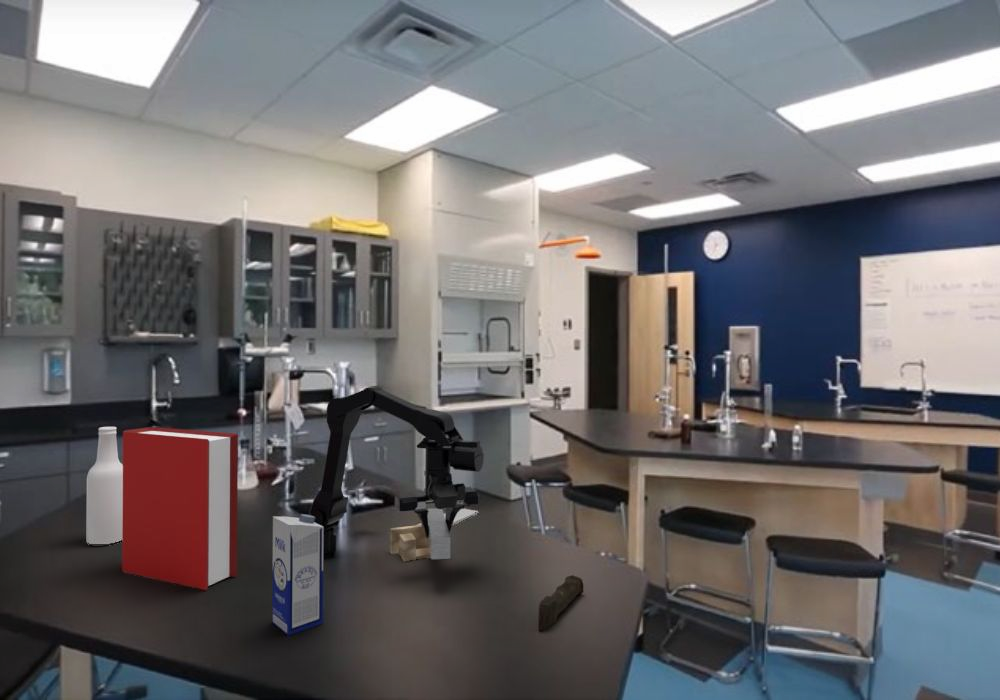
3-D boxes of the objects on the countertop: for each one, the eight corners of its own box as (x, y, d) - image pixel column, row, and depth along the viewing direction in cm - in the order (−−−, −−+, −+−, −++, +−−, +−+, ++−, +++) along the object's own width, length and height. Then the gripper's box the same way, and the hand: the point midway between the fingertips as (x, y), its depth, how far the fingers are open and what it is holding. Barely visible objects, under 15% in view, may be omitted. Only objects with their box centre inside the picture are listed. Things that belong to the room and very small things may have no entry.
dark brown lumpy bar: (566, 591, 122) (566, 569, 122) (584, 595, 120) (584, 573, 120) (525, 629, 105) (525, 604, 105) (545, 635, 103) (545, 609, 103)
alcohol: (134, 536, 154) (135, 425, 154) (109, 548, 145) (110, 430, 145) (104, 535, 155) (105, 424, 155) (77, 546, 146) (78, 429, 146)
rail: (431, 559, 120) (431, 538, 120) (425, 526, 142) (425, 508, 142) (450, 558, 121) (450, 537, 121) (441, 526, 142) (442, 508, 142)
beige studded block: (396, 562, 137) (396, 537, 137) (390, 552, 144) (390, 528, 144) (456, 554, 142) (456, 530, 142) (447, 544, 149) (447, 521, 149)
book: (236, 577, 127) (237, 433, 127) (206, 591, 120) (207, 439, 120) (150, 559, 138) (151, 426, 137) (118, 571, 130) (118, 431, 130)
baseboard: (387, 537, 157) (415, 544, 152) (387, 526, 157) (415, 533, 152) (453, 510, 183) (479, 516, 177) (453, 501, 183) (479, 506, 177)
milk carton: (271, 622, 107) (272, 515, 107) (306, 610, 111) (306, 508, 111) (288, 636, 102) (289, 523, 101) (323, 623, 106) (324, 516, 106)
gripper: (405, 478, 120) (404, 552, 120) (488, 472, 127) (487, 542, 127) (394, 468, 130) (393, 536, 130) (471, 462, 138) (470, 527, 138)
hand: (437, 535), depth 131 cm, fingers closed on rail, 4 cm apart
